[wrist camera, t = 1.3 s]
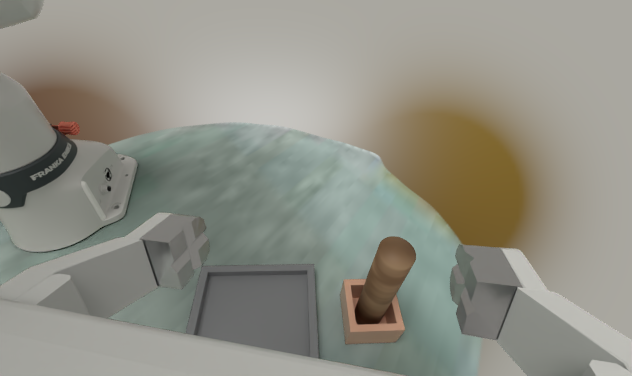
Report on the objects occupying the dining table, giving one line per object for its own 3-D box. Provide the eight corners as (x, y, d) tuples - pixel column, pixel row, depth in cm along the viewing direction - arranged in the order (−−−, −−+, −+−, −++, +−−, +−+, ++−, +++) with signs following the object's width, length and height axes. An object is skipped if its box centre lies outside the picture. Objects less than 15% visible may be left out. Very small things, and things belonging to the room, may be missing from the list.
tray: (205, 273, 43) (201, 265, 42) (313, 271, 44) (313, 263, 43) (174, 407, 32) (168, 404, 30) (319, 399, 33) (320, 396, 32)
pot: (339, 294, 42) (343, 279, 39) (384, 293, 43) (392, 278, 39) (345, 344, 38) (350, 331, 34) (395, 342, 38) (405, 330, 35)
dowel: (352, 302, 41) (375, 236, 29) (377, 302, 41) (410, 236, 30) (355, 330, 38) (382, 269, 27) (382, 329, 39) (420, 268, 27)
